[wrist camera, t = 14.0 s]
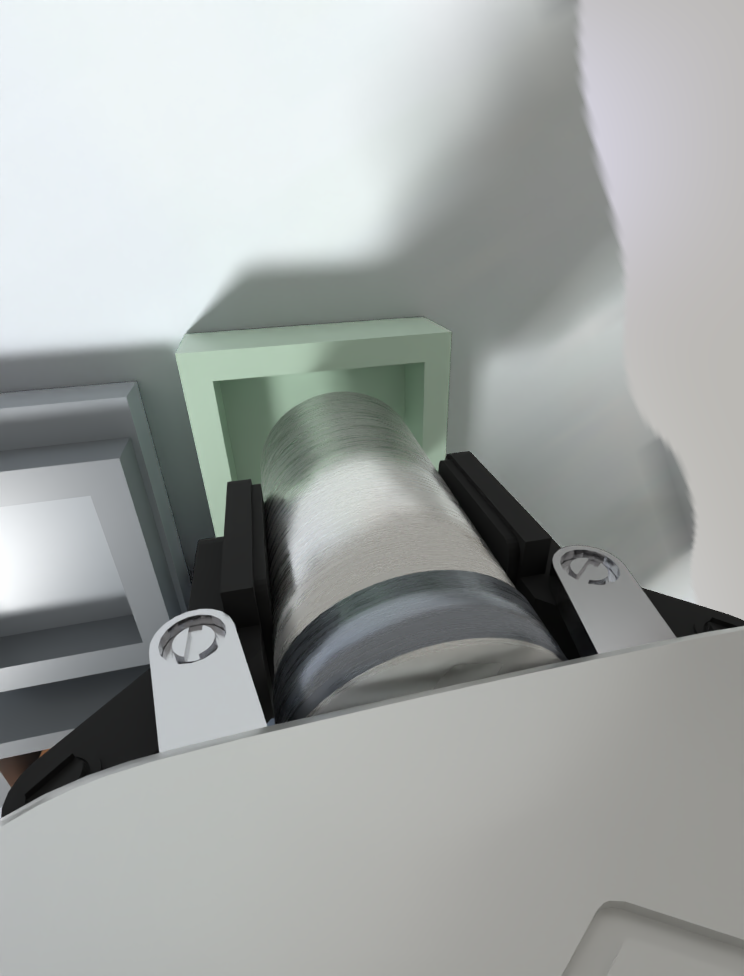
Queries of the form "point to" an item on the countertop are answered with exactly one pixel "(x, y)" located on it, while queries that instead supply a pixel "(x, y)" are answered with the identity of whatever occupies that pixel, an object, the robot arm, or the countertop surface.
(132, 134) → the countertop surface
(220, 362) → the pale green square tray
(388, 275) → the countertop surface
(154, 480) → the gray cubby shelf
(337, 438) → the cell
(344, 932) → the robot arm
